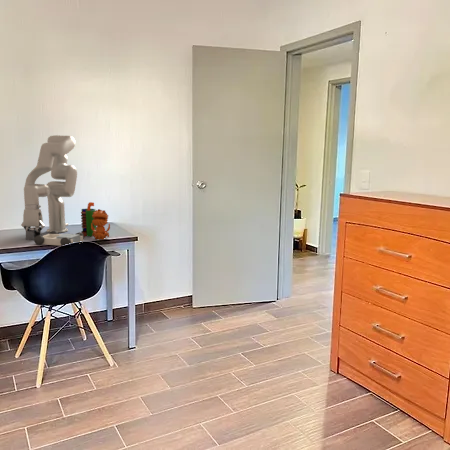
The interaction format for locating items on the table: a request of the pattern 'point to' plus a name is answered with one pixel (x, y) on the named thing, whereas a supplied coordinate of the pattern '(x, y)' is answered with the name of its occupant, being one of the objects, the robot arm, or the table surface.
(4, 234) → the table surface
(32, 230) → the engine block
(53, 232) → the chassis
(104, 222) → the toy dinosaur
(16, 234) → the table surface
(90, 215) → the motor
